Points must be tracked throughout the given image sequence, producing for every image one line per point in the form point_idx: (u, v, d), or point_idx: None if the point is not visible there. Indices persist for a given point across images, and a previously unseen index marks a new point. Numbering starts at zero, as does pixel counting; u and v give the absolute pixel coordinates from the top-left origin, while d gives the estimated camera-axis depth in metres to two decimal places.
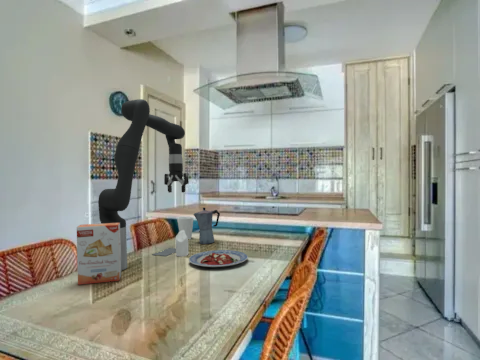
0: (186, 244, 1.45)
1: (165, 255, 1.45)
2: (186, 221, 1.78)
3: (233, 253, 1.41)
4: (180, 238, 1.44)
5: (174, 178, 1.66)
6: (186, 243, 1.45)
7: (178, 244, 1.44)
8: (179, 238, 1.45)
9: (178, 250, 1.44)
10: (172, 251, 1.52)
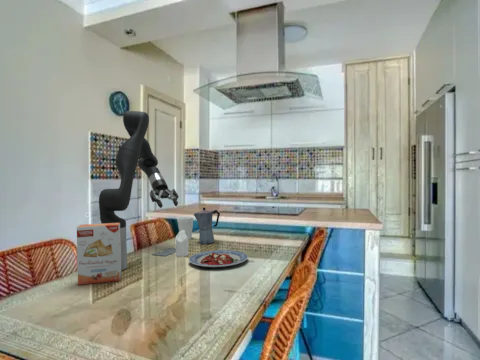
0: (186, 244, 1.45)
1: (165, 255, 1.45)
2: (186, 221, 1.78)
3: (233, 253, 1.41)
4: (180, 238, 1.44)
5: (163, 193, 1.58)
6: (186, 243, 1.45)
7: (179, 244, 1.44)
8: (179, 238, 1.45)
9: (178, 250, 1.44)
10: (172, 251, 1.52)
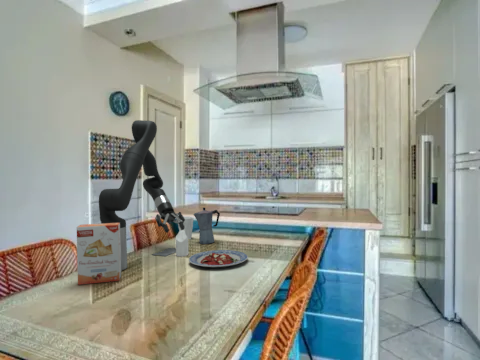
0: (186, 244, 1.45)
1: (165, 255, 1.45)
2: (186, 221, 1.78)
3: (233, 253, 1.41)
4: (180, 238, 1.44)
5: (169, 217, 1.53)
6: (186, 243, 1.45)
7: (179, 244, 1.44)
8: (179, 238, 1.45)
9: (178, 250, 1.44)
10: (172, 251, 1.52)
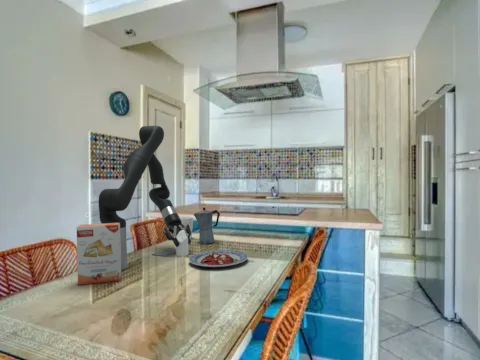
0: (186, 244, 1.45)
1: (165, 255, 1.45)
2: (186, 221, 1.78)
3: (233, 253, 1.41)
4: (180, 238, 1.44)
5: (177, 229, 1.48)
6: (186, 243, 1.45)
7: (179, 244, 1.44)
8: (179, 238, 1.45)
9: (178, 250, 1.44)
10: (172, 251, 1.52)
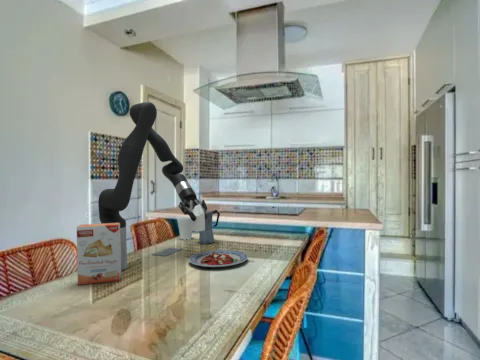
0: (203, 219, 1.38)
1: (165, 255, 1.45)
2: (186, 221, 1.78)
3: (233, 253, 1.41)
4: (196, 212, 1.38)
5: (193, 204, 1.42)
6: (203, 218, 1.38)
7: None
8: (195, 212, 1.38)
9: (194, 225, 1.37)
10: (172, 251, 1.52)
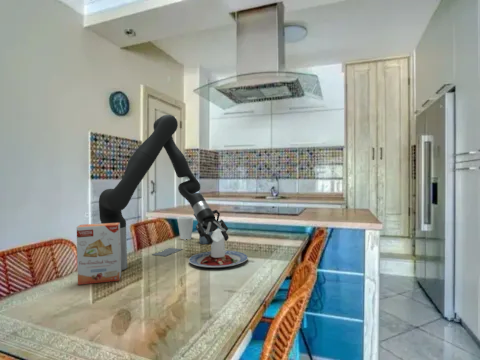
0: (223, 244, 1.31)
1: (165, 255, 1.45)
2: (186, 221, 1.78)
3: (233, 253, 1.41)
4: (216, 237, 1.31)
5: (212, 226, 1.35)
6: (223, 243, 1.31)
7: (215, 244, 1.30)
8: (215, 237, 1.32)
9: (214, 251, 1.31)
10: (172, 251, 1.52)
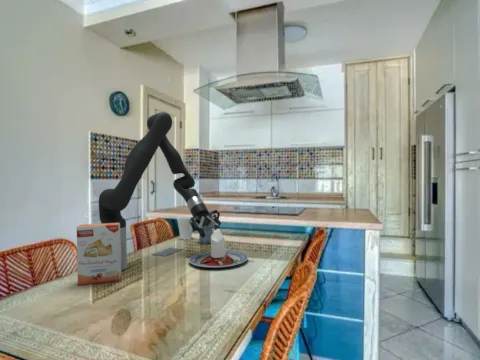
0: (223, 244, 1.32)
1: (165, 255, 1.45)
2: (186, 221, 1.78)
3: (233, 254, 1.41)
4: (216, 238, 1.31)
5: (205, 220, 1.38)
6: (223, 243, 1.32)
7: (215, 244, 1.30)
8: (215, 237, 1.32)
9: (214, 251, 1.31)
10: (172, 251, 1.52)
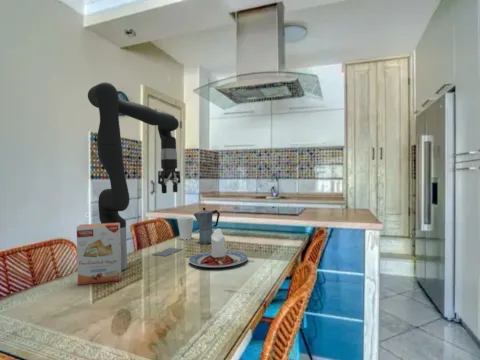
0: (223, 244, 1.32)
1: (165, 255, 1.45)
2: (186, 221, 1.78)
3: (233, 253, 1.41)
4: (216, 237, 1.32)
5: (170, 176, 1.44)
6: (223, 243, 1.32)
7: (215, 243, 1.31)
8: (215, 237, 1.32)
9: (214, 250, 1.31)
10: (172, 251, 1.52)
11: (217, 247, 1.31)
